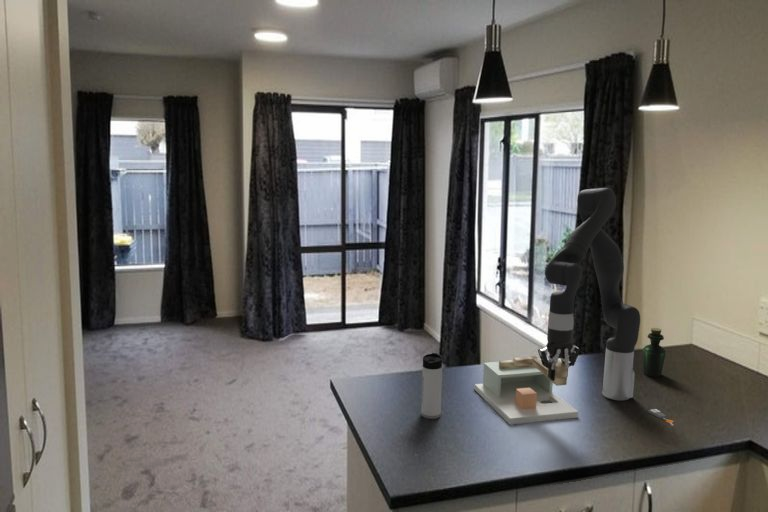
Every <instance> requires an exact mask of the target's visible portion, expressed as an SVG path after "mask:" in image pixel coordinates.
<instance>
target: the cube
mask: <svg viewBox="0 0 768 512" xmlns="http://www.w3.org/2000/svg"><path fill="white" fill-rule="evenodd" d="M536 401H537V393H536V392H535V391H533V390H532V389H531V388H520V389H516V398H515V403H516V404H517V405H518V406H519V407H520V408H521V409H529V408H536Z"/></svg>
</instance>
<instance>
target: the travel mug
mask: <svg viewBox="0 0 768 512" xmlns="http://www.w3.org/2000/svg"><path fill="white" fill-rule="evenodd" d="M421 372H422V373H421V376H422V377H421V380H422V381H421V416H422V417H423V418H425V419H429V420H436V419H439V418H440V417H441V416H442V414H441V413H442V412H441V410H442V387H443V386H442V383H443V357H442V356H441V355H440V354H438V352H432V353H428V354H425V355H424V356H423V357H422V371H421Z"/></svg>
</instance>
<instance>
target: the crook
mask: <svg viewBox="0 0 768 512" xmlns="http://www.w3.org/2000/svg"><path fill="white" fill-rule="evenodd" d="M512 360H513V364H514V365H515V366H526V365H533V366H534V367H536V368H537V369H538V370H539V371H541V372H542V373H543V374H544V375H546V376H547V379H549V378H548V368H546V367H545V366H543V365H542V362H541V359H540V358H538V357H537V356H536V355H534V356H533V355H532V356H521V357H513V359H512ZM548 361H549V359H548ZM567 372H568V373H569V368H568V366H566V365H565V364H564V363H562V362H561V360H559V359H558V361H557V363H556V365H555V380H554V381H552V380H550V379H549V380H550V381H551V382H552V383H553V385H555V386H567V383H568V382H567V380H568V376H567Z"/></svg>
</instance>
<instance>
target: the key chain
mask: <svg viewBox="0 0 768 512" xmlns="http://www.w3.org/2000/svg"><path fill="white" fill-rule="evenodd" d="M647 413H649V414H650V415H652V416H654V417H656V418H658V419H660V420H665V422H666V423H668V424H670V426H674V424H673V423H674V420H673V419H672V420H671V419H668V417H667V415H666V414H665V413H663V412H661V410H658V409H657V408H651V409H648V410H647Z"/></svg>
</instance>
